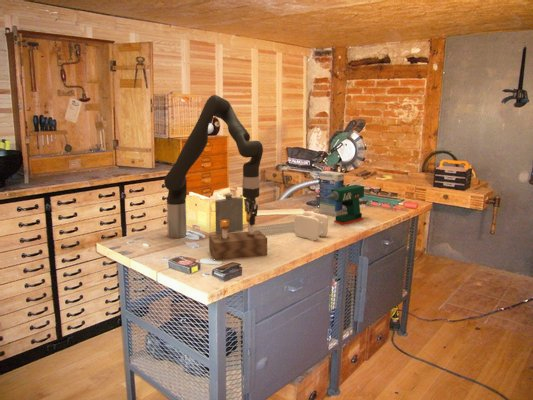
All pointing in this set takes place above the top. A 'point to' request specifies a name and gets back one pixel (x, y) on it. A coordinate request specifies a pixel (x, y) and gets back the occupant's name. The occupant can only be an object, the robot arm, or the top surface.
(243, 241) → the block
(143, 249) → the top surface
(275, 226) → the corner bead
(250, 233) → the far plunger
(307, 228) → the beige rounded block
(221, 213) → the hip flask
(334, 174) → the string lights box
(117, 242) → the top surface
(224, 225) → the near plunger
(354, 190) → the power tool
